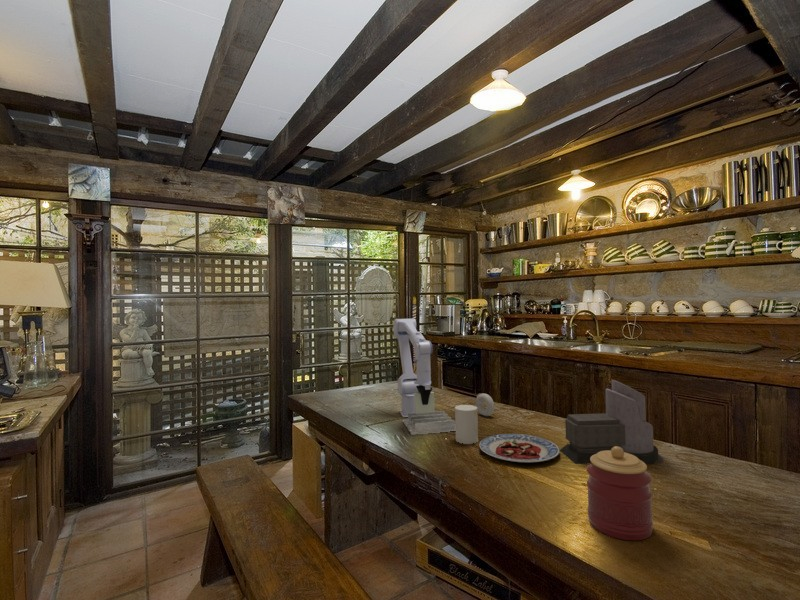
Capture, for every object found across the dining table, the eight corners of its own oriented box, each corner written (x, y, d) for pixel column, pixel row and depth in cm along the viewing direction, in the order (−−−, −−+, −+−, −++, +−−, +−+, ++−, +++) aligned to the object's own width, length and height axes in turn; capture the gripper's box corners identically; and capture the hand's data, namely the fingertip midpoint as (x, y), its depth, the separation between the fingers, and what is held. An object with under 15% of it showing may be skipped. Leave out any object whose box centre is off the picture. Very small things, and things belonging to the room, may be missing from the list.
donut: (474, 414, 182) (473, 392, 182) (479, 412, 184) (479, 391, 184) (491, 419, 174) (490, 396, 174) (496, 417, 176) (495, 394, 176)
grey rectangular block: (414, 412, 166) (414, 393, 166) (433, 410, 167) (432, 391, 167) (415, 413, 164) (414, 394, 164) (434, 412, 165) (434, 392, 165)
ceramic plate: (567, 470, 121) (566, 460, 121) (479, 466, 126) (479, 456, 126) (552, 441, 146) (552, 433, 146) (479, 438, 151) (479, 430, 151)
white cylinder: (479, 443, 144) (479, 410, 144) (457, 444, 145) (456, 410, 145) (476, 436, 153) (475, 404, 153) (454, 436, 153) (453, 405, 153)
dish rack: (403, 421, 173) (402, 412, 173) (448, 418, 176) (447, 409, 176) (411, 435, 155) (410, 425, 155) (461, 431, 159) (460, 421, 159)
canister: (630, 509, 98) (628, 436, 98) (667, 541, 85) (665, 456, 85) (577, 511, 97) (575, 438, 97) (606, 543, 84) (604, 458, 84)
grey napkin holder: (641, 445, 140) (640, 374, 140) (674, 463, 124) (672, 383, 124) (556, 448, 139) (554, 377, 139) (578, 467, 123) (576, 386, 123)
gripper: (410, 368, 172) (411, 400, 172) (417, 374, 158) (418, 408, 158) (427, 367, 173) (427, 399, 173) (435, 373, 159) (435, 407, 159)
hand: (424, 403), depth 166 cm, fingers closed on grey rectangular block, 2 cm apart
